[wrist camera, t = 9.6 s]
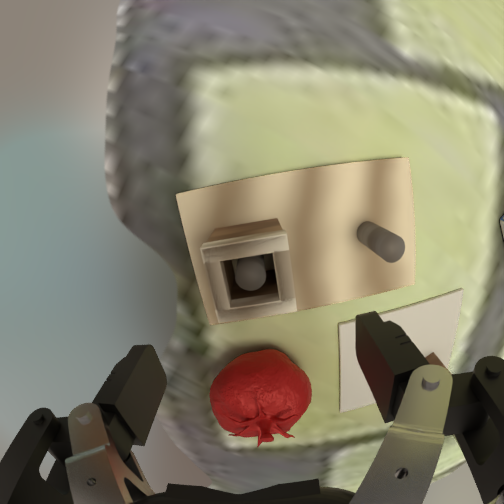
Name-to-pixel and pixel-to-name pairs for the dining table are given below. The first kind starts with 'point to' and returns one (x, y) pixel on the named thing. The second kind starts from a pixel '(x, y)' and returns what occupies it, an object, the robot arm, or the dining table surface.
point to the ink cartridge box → (502, 224)
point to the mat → (415, 326)
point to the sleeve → (244, 245)
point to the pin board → (315, 229)
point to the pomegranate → (260, 395)
